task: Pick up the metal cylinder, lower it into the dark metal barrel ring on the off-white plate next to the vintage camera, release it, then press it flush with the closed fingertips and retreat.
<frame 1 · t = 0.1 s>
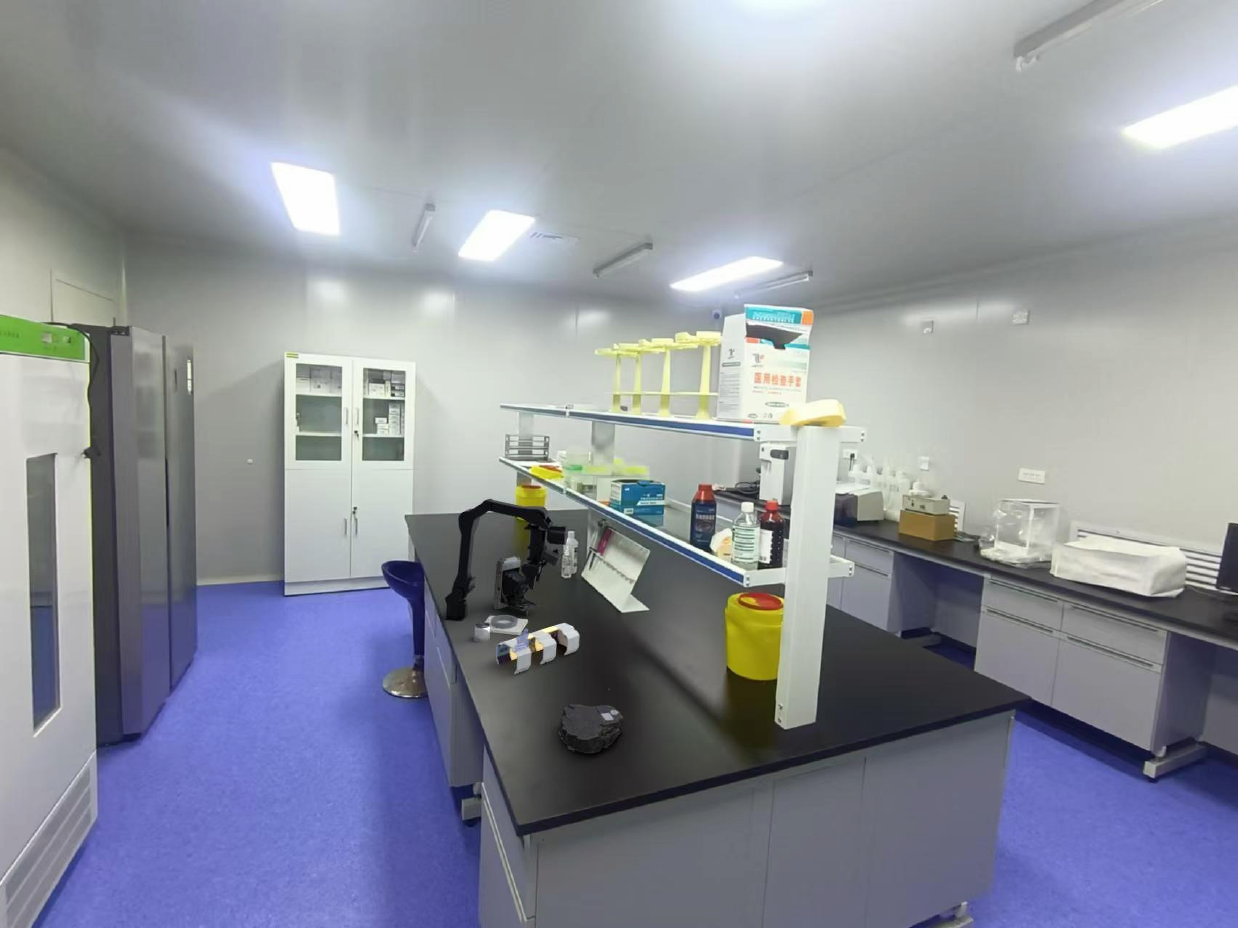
hand: (534, 585, 199), 15 cm above the worktop, fingers open, 9 cm apart
barrel plate: (504, 626, 197), on the worktop
rock sample: (588, 735, 135), on the worktop
metal cylinder: (482, 639, 185), on the worktop
vintage camera: (515, 611, 213), on the worktop
diorama: (538, 658, 175), on the worktop
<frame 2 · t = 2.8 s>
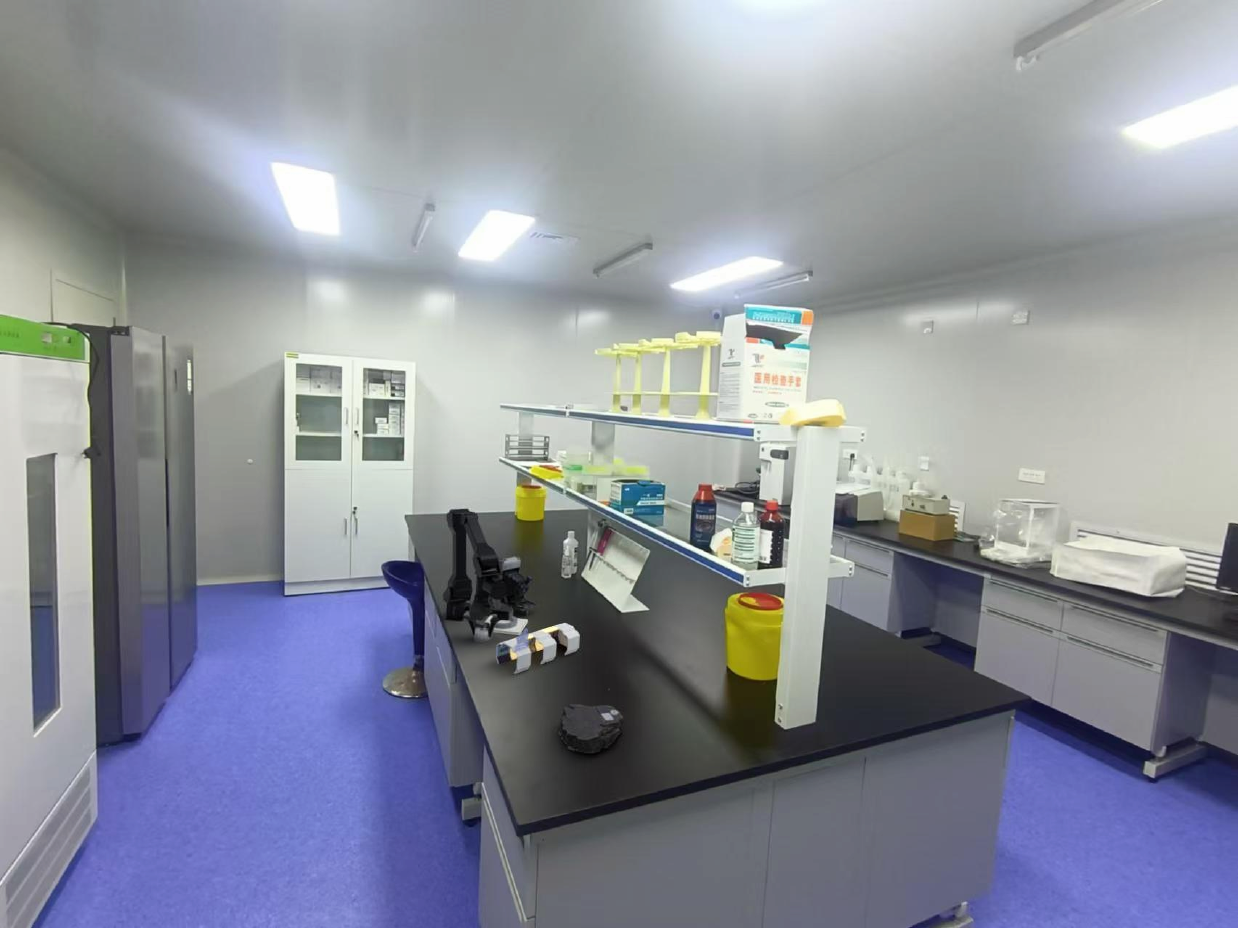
hand: (482, 635, 185), 1 cm above the worktop, fingers closed on metal cylinder, 5 cm apart
metal cylinder: (482, 639, 185), on the worktop, touching gripper
everything else where it was.
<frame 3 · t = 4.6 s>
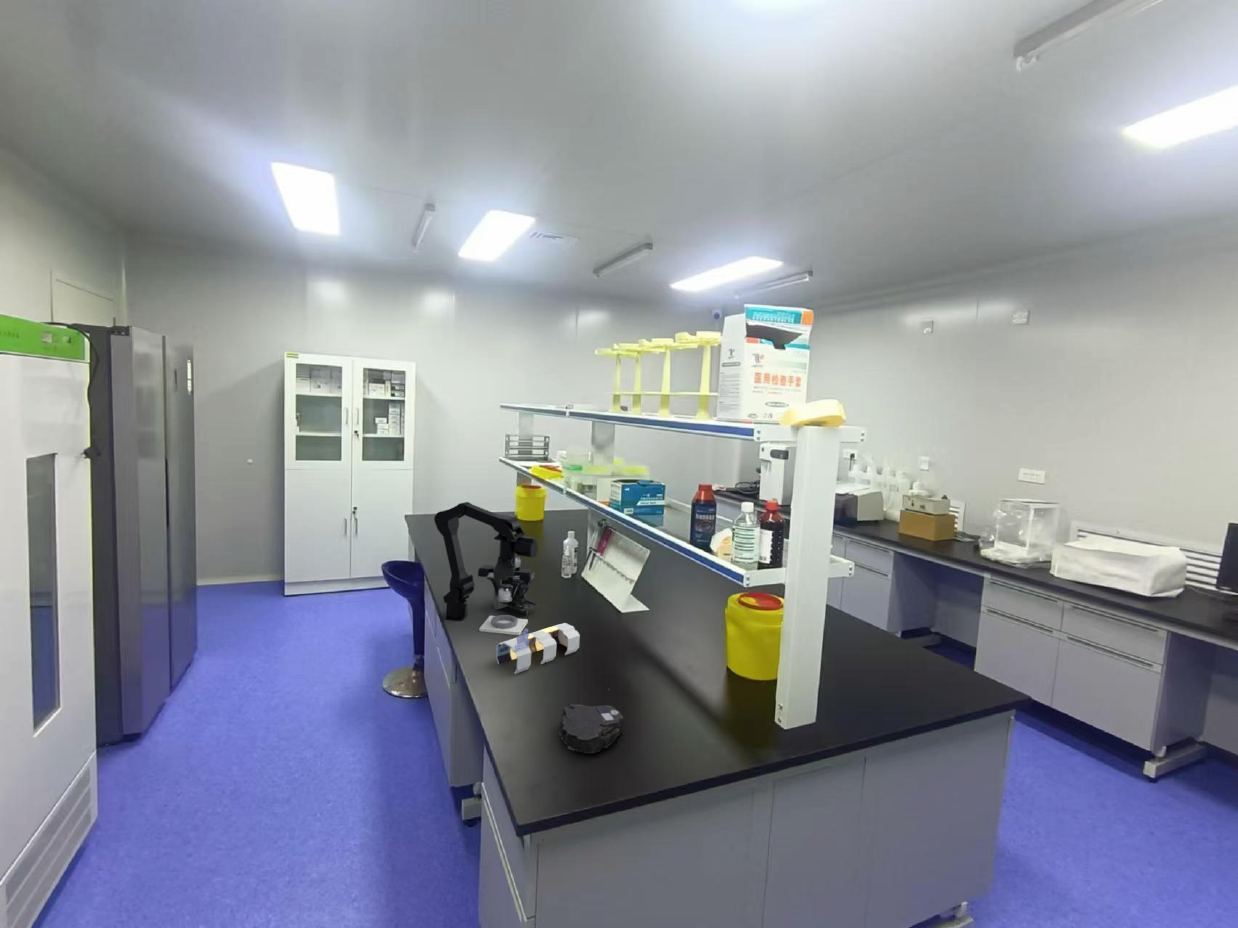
hand: (505, 596, 195), 11 cm above the worktop, fingers closed on metal cylinder, 5 cm apart
metal cylinder: (504, 599, 195), point 10 cm above the worktop, touching gripper
everything else where it was.
when the fingers open (3 cm above the worktop, at t = 6.4 s): metal cylinder drops 1 cm, resting on barrel plate.
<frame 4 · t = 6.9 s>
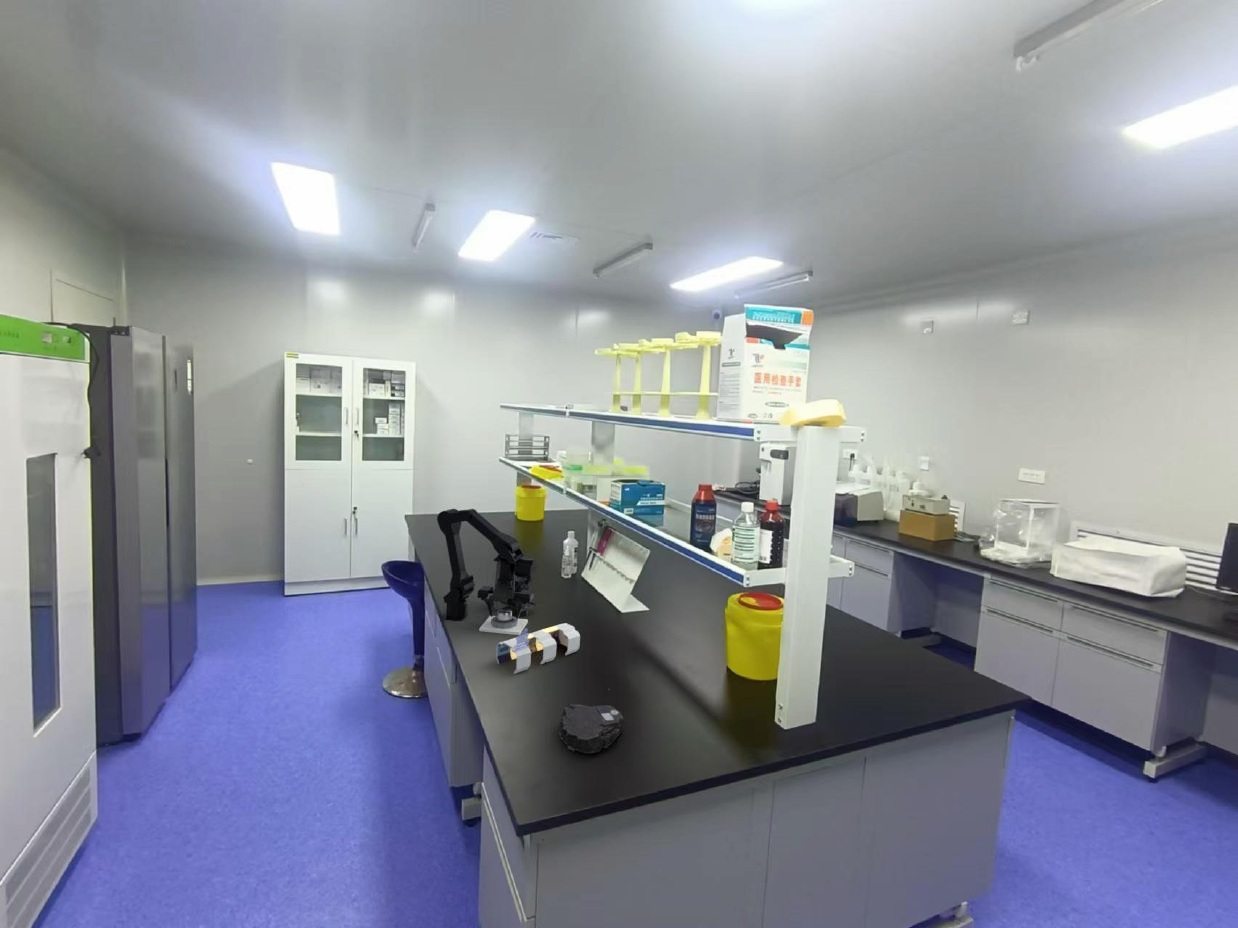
hand: (504, 617, 196), 3 cm above the worktop, fingers open, 9 cm apart
metal cylinder: (504, 623, 197), point 1 cm above the worktop, touching barrel plate
everything else where it was.
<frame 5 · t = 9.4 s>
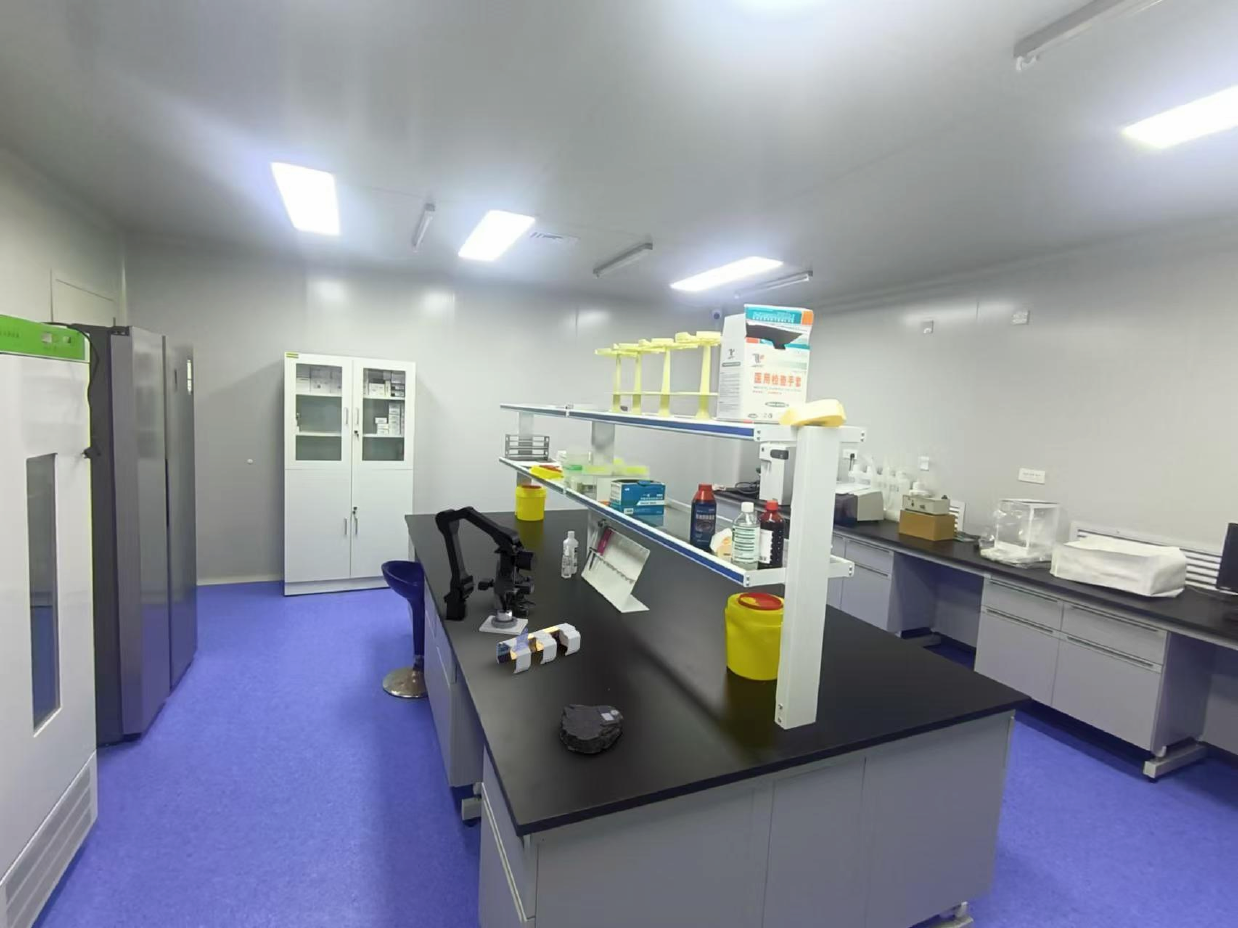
hand: (504, 609, 196), 6 cm above the worktop, fingers closed, pressing on metal cylinder
metal cylinder: (504, 623, 197), point 1 cm above the worktop, touching barrel plate, gripper
everything else where it was.
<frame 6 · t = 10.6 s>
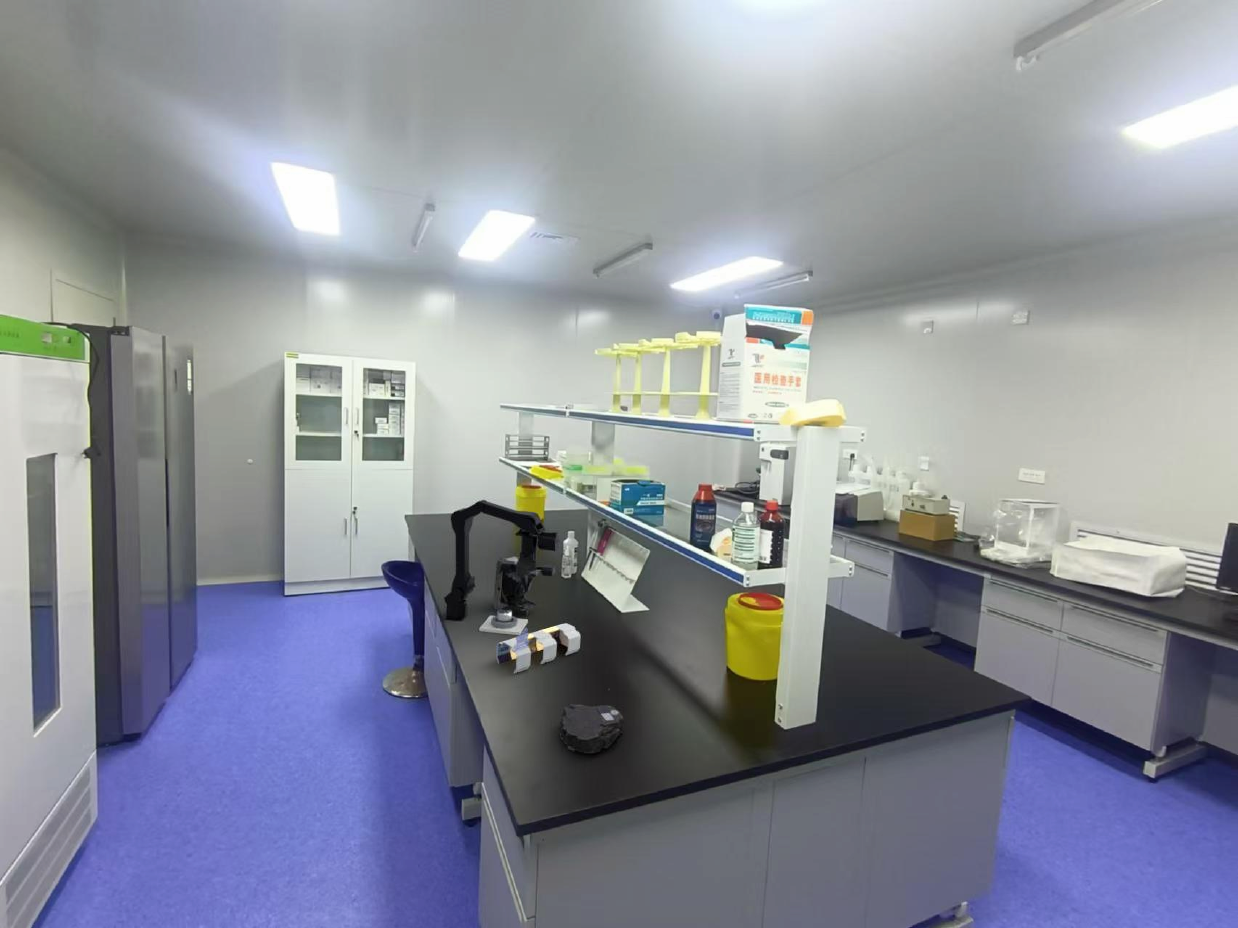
hand: (526, 591, 197), 13 cm above the worktop, fingers closed
metal cylinder: (504, 623, 197), point 1 cm above the worktop, touching barrel plate
everything else where it was.
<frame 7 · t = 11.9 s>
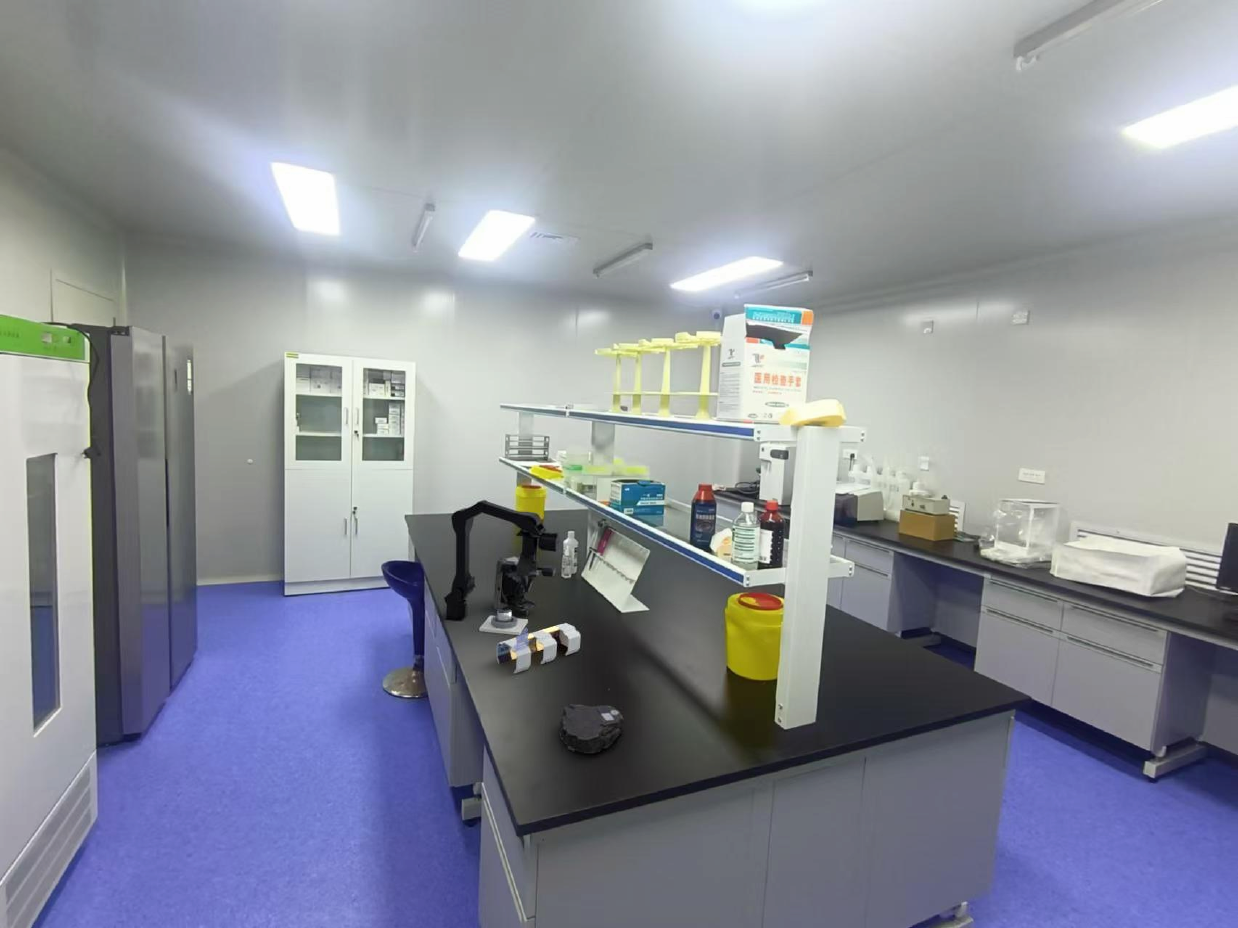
hand: (526, 592, 197), 12 cm above the worktop, fingers closed
nothing on the worktop moved.
at the end: metal cylinder 0.1 cm off-centre on the barrel plate, point 1.0 cm above the barrel plate's base; metal cylinder tilted 1°; the gripper is holding nothing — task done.
